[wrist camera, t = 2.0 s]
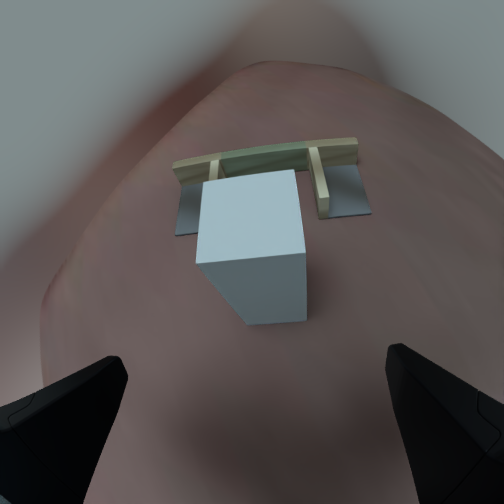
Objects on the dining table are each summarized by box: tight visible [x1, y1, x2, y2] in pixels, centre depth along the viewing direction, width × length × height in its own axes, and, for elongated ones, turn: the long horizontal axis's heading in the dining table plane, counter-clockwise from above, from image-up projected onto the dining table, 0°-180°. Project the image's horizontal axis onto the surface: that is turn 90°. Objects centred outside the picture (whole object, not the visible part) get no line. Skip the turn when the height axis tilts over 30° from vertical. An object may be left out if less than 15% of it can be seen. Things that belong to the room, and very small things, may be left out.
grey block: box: [196, 169, 307, 325], centre depth 17 cm, size 4×4×11 cm
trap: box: [172, 137, 371, 236], centre depth 26 cm, size 7×18×3 cm, turn 92°
